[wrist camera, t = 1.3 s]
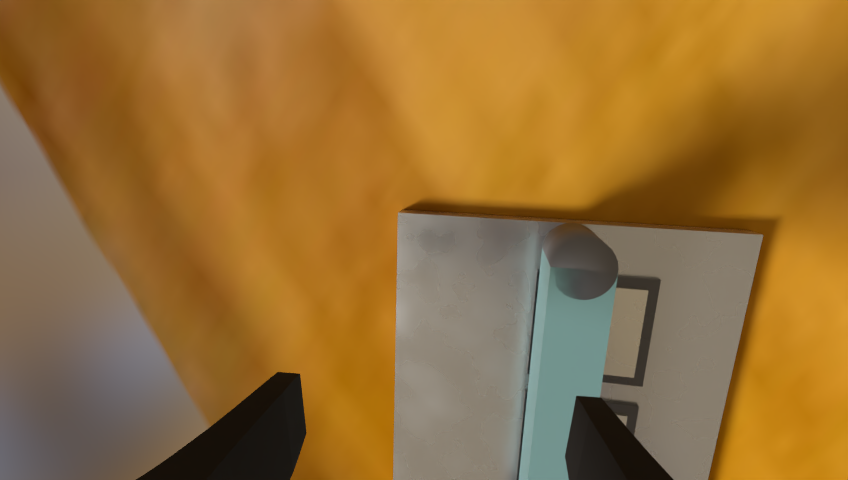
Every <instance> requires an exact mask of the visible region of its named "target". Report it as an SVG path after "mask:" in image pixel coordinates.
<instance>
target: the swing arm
mask: <svg viewBox="0 0 848 480" xmlns="http://www.w3.org/2000/svg"><path fill="white" fill-rule="evenodd" d="M618 269H619V267H618V260H617V258H616V255H615V254H614V252H613V251H612V249H611V248H610V247H609V246H608V245H607V244H605V243H604V242H603V241H602V240H601V239H600V238H599V237H598V236H597V235H596V234H595V233H594V232H593V231H591V230H590V229H589V228H588V227H586V226H584V225H582V224H578V223H565V224H561V225H559V226H557V227H555V228H554V229H552V230H551V231H550V232H549V233H548V234H547V236H546V237H545V239H544V242H543V246H542V254H541V264H540V274H539V284H538V294H537V303H536V313H535V323H534V333H533V343H532V353H531V363H530V373H529V383H528V392H527V402H526V412H525V422H524V432H523V442H522V452H521V462H520V472H519V480H569V478H568V472H567V466H566V460H565V453H566V448H567V442H568V437H569V432H570V427H571V421H572V416H573V411H574V405H575V400H576V396H588V397H600V393H601V386H602V380H603V373H604V366H605V359H606V352H607V345H608V339H609V332H610V325H611V318H612V311H613V305H614V298H615V291H616V284H617V277H618Z"/></svg>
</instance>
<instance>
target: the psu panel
mask: <svg viewBox="0 0 848 480" xmlns="http://www.w3.org/2000/svg"><path fill="white" fill-rule="evenodd" d="M565 223H578V224H582V225H584V226H586V227H588V228H589V229H590V230H591V231H593V232H594V233H595V234H596V235H597V236H598V237H599V238H600V239H601V240H602V241H603V242H604V243H605V244H607V245H608V246H609V247H610V248H611V249H612V251H613V252H614V254H615V255H616V258H617V260H618V267H619V269H618V277H617V284H616V291H615V298H614V305H613V311H612V318H611V325H610V332H609V339H608V345H607V352H606V359H605V366H604V373H603V380H602V386H601V393H600V398H602V399H603V400H604V401H605V403H606V404H607V405H608V406H609V407H610V408H611V409H612V411H613V412H614V413H615V414H616V415H617V416H618V418H619V419H620V420H621V421H622V422H623V423H624V425H625V426H626V427H627V428H628V429H629V430H630V432H631V433H632V434H633V435H634V436H635V437H636V439H637V440H638V441H639V442H640V443H641V444H642V445H643V447H644V448H645V449H646V450H647V451H648V452H649V453H650V454H651V455H652V457H653V458H654V459H655V460H656V461H657V462H658V463H659V464H660V465H661V466H662V467H663V469H664V470H665V471H666V472H667V473H668V474H669V475H670V476H671V477H672V478H673V479H674V480H708V477H709V473H710V468H711V464H712V460H713V455H714V451H715V446H716V442H717V438H718V433H719V429H720V424H721V420H722V415H723V411H724V407H725V402H726V398H727V393H728V389H729V385H730V380H731V376H732V371H733V367H734V362H735V358H736V354H737V349H738V345H739V340H740V336H741V332H742V327H743V323H744V318H745V314H746V310H747V305H748V301H749V296H750V292H751V287H752V283H753V279H754V274H755V270H756V265H757V261H758V257H759V252H760V248H761V243H762V239H763V235H762V234H760V233H757V232H754V231H751V230H739V229H722V228H705V227H689V226H672V225H655V224H638V223H621V222H604V221H588V220H571V219H554V218H537V217H520V216H504V215H487V214H470V213H453V212H436V211H419V210H403V209H402V210H401V211H400V212H398V244H397V299H396V355H395V411H394V467H393V480H519V472H520V462H521V452H522V442H523V432H524V422H525V412H526V402H527V392H528V383H529V373H530V363H531V353H532V343H533V333H534V323H535V313H536V303H537V294H538V284H539V274H540V264H541V254H542V246H543V242H544V239H545V237H546V236H547V234H548V233H549V232H550V231H551V230H552V229H554V228H555V227H557V226H559V225H561V224H565Z"/></svg>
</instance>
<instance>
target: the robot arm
mask: <svg viewBox="0 0 848 480" xmlns="http://www.w3.org/2000/svg"><path fill="white" fill-rule="evenodd" d="M305 435H306V425H305V416H304V407H303V398H302V388H301V379H300V374H296V373H283V372H277V373H276V374H275V375H274V376H272V377H271V378H270V379H269V380H267V381H266V382H265V383H264V384H263V385H261V386H260V387H259V388H258V389H257V390H255V391H254V392H253V393H252V394H251V395H249V396H248V397H247V398H246V399H245V400H243V401H242V402H241V403H240V404H238V405H237V406H236V407H235V408H234V409H232V410H231V411H230V412H229V413H227V414H226V415H225V416H224V417H222V418H221V419H220V420H219V421H217V422H216V423H215V424H214V425H212V426H211V427H210V428H209V429H207V430H206V431H205V432H203V433H202V434H200V435H199V436H198V437H196V438H195V439H194V440H193V441H191V442H190V443H188V444H187V445H186V446H184V447H183V448H182V449H180V450H179V451H178V452H176V453H175V454H174V455H172V456H171V457H169V458H168V459H166V460H165V461H164V462H162V463H161V464H160V465H158V466H156V467H155V468H154V469H152V470H150V471H149V472H147V473H146V474H144V475H143V476H141V477H140V478H138V479H136V480H290V478H291V476H292V474H293V471H294V468H295V465H296V463H297V460H298V457H299V454H300V451H301V448H302V445H303V442H304V438H305ZM565 460H566V466H567V472H568V478H569V480H674V479H673V478H672V477H671V476H670V475H669V474H668V473H667V472H666V471H665V470H664V469H663V467H662V466H661V465H660V464H659V463H658V462H657V461H656V460H655V459H654V458H653V457H652V455H651V454H650V453H649V452H648V451H647V450H646V449H645V448H644V447H643V445H642V444H641V443H640V442H639V441H638V440H637V439H636V437H635V436H634V435H633V434H632V433H631V432H630V430H629V429H628V428H627V427H626V426H625V425H624V423H623V422H622V421H621V420H620V419H619V418H618V416H617V415H616V414H615V413H614V412H613V411H612V409H611V408H610V407H609V406H608V405H607V404H606V403H605V401H604V400H603V399H602V398H600V397H588V396H576V400H575V405H574V411H573V416H572V421H571V427H570V432H569V437H568V442H567V448H566V453H565Z"/></svg>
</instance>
